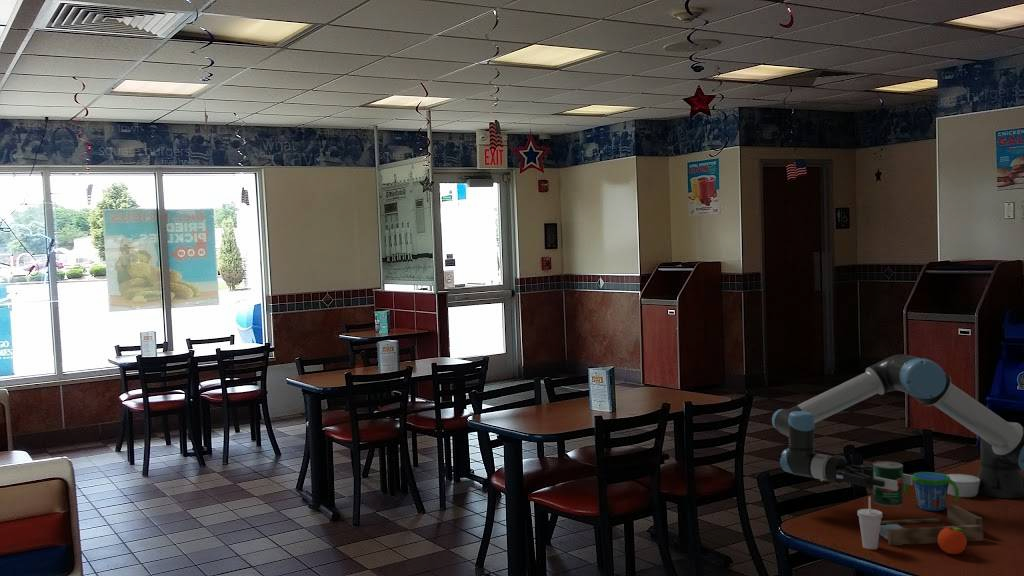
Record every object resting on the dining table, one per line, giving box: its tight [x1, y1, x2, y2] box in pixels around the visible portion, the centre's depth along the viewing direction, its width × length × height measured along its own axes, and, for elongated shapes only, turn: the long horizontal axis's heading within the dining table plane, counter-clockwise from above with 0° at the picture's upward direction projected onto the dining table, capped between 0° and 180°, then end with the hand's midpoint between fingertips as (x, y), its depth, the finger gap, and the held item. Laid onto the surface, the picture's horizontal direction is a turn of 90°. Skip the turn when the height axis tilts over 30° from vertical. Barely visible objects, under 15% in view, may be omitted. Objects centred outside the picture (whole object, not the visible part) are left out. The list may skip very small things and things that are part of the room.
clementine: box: [937, 527, 968, 555], centre depth 236 cm, size 8×7×7 cm
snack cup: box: [903, 471, 960, 512], centre depth 277 cm, size 16×10×10 cm
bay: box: [858, 503, 984, 546], centre depth 254 cm, size 28×18×5 cm, turn 95°
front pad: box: [879, 524, 904, 541], centre depth 254 cm, size 9×14×1 cm, turn 5°
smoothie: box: [857, 496, 884, 550], centre depth 243 cm, size 6×6×14 cm
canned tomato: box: [872, 460, 904, 507], centre depth 254 cm, size 8×8×11 cm
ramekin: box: [946, 473, 980, 498], centre depth 292 cm, size 11×11×5 cm
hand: (904, 483), depth 251 cm, fingers closed on canned tomato, 8 cm apart
